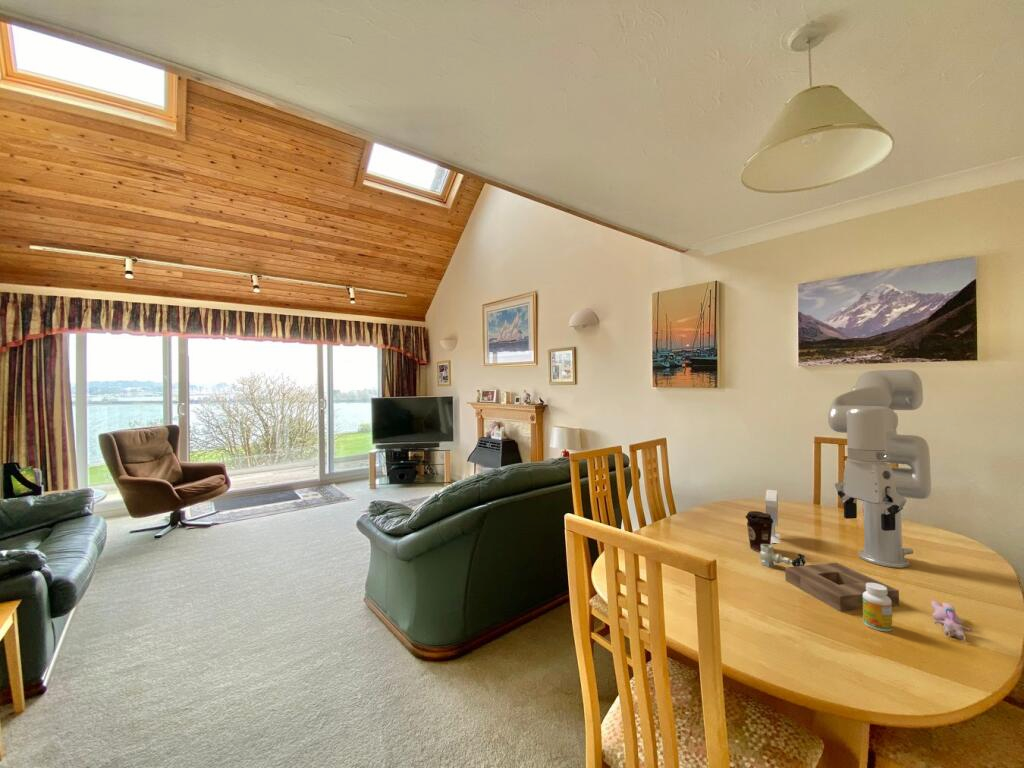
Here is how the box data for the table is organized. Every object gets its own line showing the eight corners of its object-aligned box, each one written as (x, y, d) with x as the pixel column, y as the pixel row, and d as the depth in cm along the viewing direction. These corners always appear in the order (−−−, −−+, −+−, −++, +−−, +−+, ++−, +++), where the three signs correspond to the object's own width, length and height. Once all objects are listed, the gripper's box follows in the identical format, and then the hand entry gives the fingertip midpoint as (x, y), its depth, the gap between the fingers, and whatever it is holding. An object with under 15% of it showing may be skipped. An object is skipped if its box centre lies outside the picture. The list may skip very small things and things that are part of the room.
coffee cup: (747, 552, 148) (746, 515, 148) (744, 543, 156) (743, 509, 156) (776, 555, 145) (775, 518, 145) (771, 546, 152) (770, 511, 153)
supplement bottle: (857, 620, 104) (856, 581, 104) (877, 619, 105) (875, 580, 105) (878, 633, 99) (876, 592, 99) (898, 631, 99) (897, 590, 99)
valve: (756, 566, 136) (799, 578, 127) (756, 546, 136) (798, 557, 127) (764, 560, 141) (806, 572, 131) (763, 541, 141) (805, 551, 132)
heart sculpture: (780, 545, 153) (778, 497, 153) (764, 543, 156) (763, 495, 156) (780, 533, 166) (779, 488, 166) (766, 531, 169) (764, 487, 169)
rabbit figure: (977, 652, 93) (956, 611, 105) (978, 628, 93) (957, 590, 105) (938, 643, 97) (922, 604, 109) (938, 619, 96) (922, 583, 108)
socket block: (837, 575, 129) (836, 562, 129) (899, 605, 111) (898, 590, 111) (785, 580, 126) (785, 567, 126) (840, 611, 108) (839, 596, 108)
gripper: (917, 461, 97) (919, 534, 96) (847, 451, 114) (849, 513, 114) (889, 461, 96) (891, 536, 95) (823, 451, 113) (825, 514, 113)
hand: (868, 523), depth 104 cm, fingers open, 9 cm apart
